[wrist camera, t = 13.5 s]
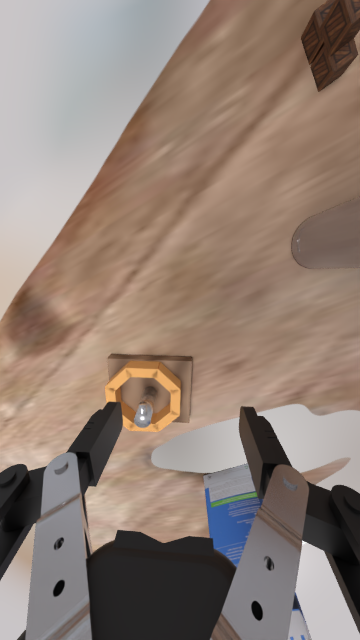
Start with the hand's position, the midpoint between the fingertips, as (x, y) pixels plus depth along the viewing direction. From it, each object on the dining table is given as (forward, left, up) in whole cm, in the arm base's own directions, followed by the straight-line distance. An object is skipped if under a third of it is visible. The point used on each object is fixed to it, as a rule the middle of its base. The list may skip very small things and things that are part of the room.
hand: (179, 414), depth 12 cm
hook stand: (+7, +17, -26) cm, 32 cm away
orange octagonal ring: (+8, +17, -24) cm, 31 cm away
